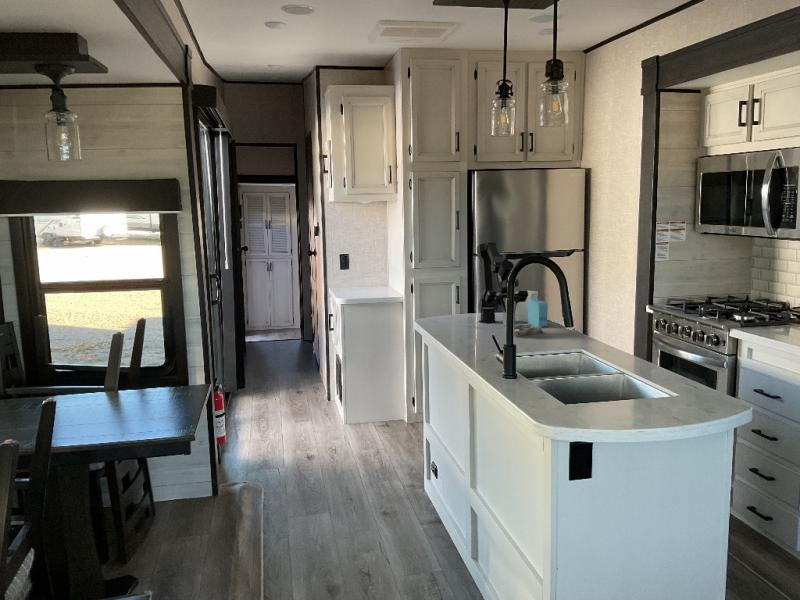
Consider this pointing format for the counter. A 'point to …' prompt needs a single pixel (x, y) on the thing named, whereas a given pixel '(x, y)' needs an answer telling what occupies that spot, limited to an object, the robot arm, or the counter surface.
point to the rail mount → (526, 330)
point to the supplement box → (524, 307)
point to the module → (505, 314)
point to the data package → (537, 313)
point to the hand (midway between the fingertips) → (510, 311)
